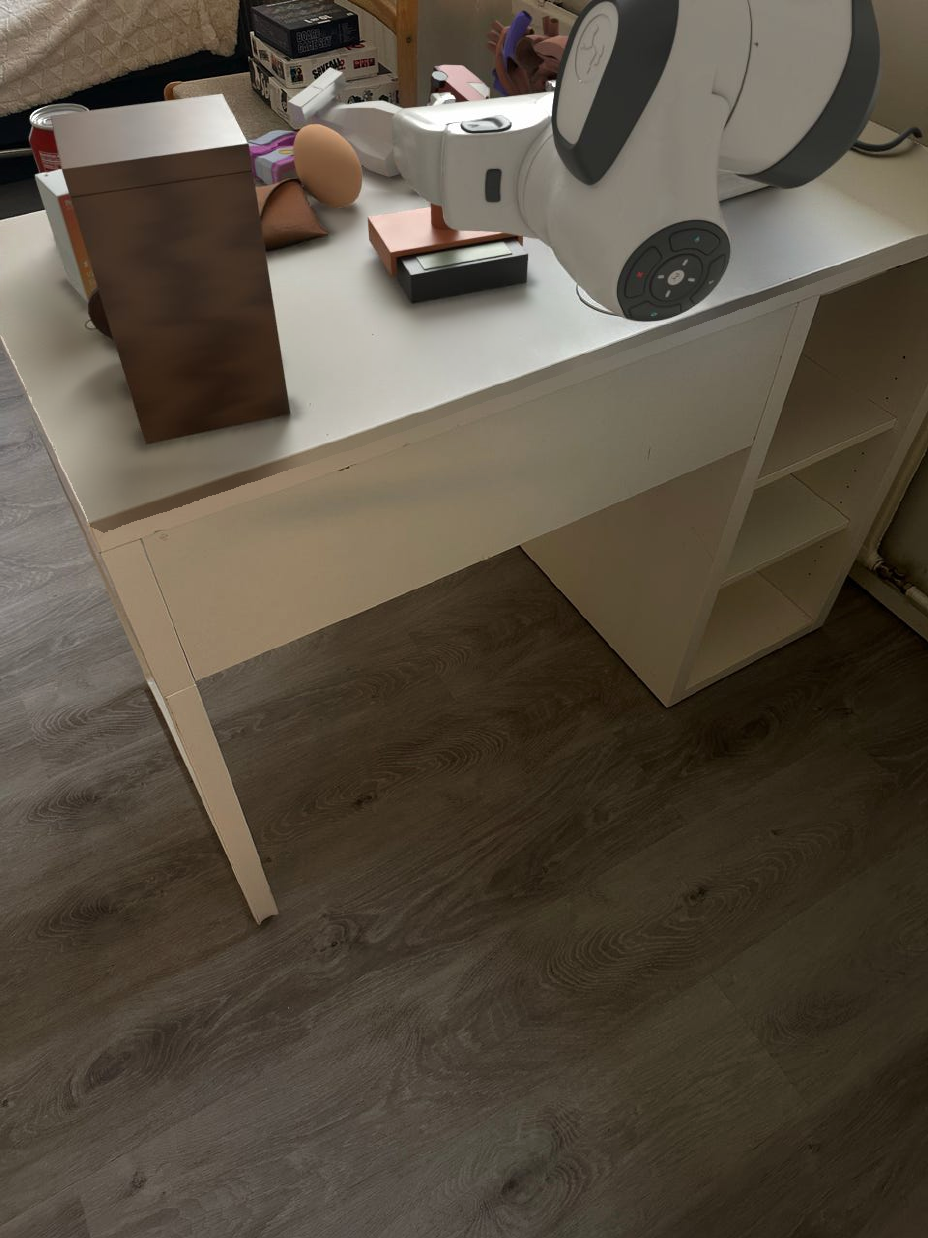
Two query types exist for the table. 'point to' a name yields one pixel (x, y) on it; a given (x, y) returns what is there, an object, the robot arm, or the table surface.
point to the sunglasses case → (286, 215)
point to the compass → (98, 314)
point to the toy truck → (458, 83)
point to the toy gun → (273, 157)
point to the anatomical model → (525, 55)
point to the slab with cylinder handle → (420, 234)
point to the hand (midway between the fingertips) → (497, 96)
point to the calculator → (462, 269)
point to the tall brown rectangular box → (178, 260)
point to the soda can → (48, 135)
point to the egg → (327, 166)
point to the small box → (66, 231)
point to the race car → (350, 120)
